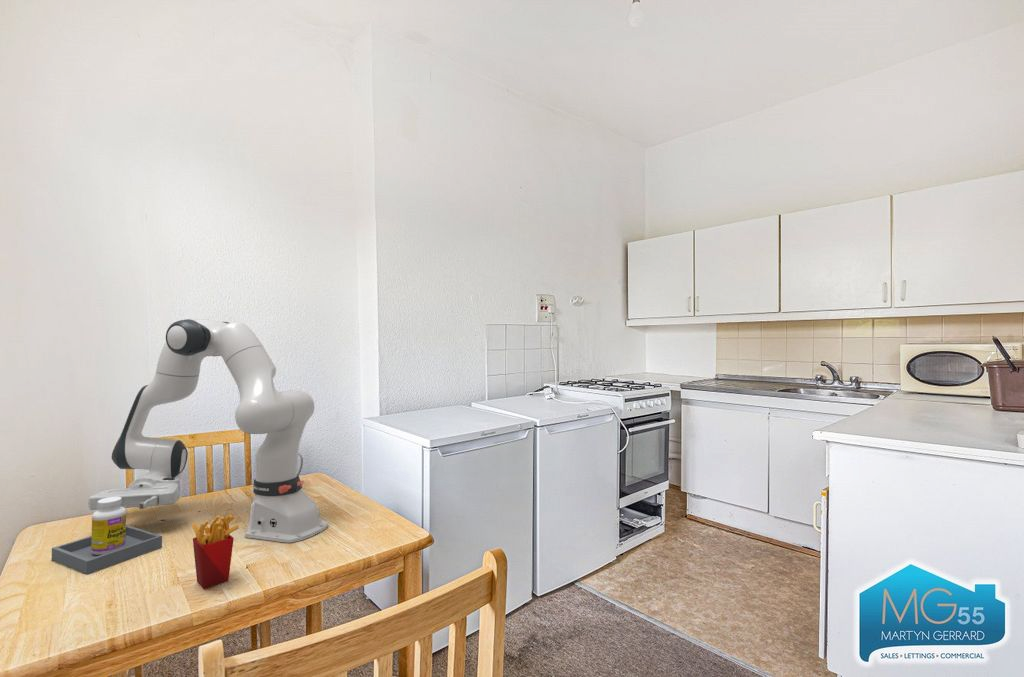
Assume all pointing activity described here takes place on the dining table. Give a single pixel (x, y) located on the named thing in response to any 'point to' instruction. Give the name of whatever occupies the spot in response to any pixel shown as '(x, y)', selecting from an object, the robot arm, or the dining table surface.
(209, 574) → the french fries
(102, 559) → the tray
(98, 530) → the supplement bottle
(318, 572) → the dining table surface
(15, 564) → the dining table surface
